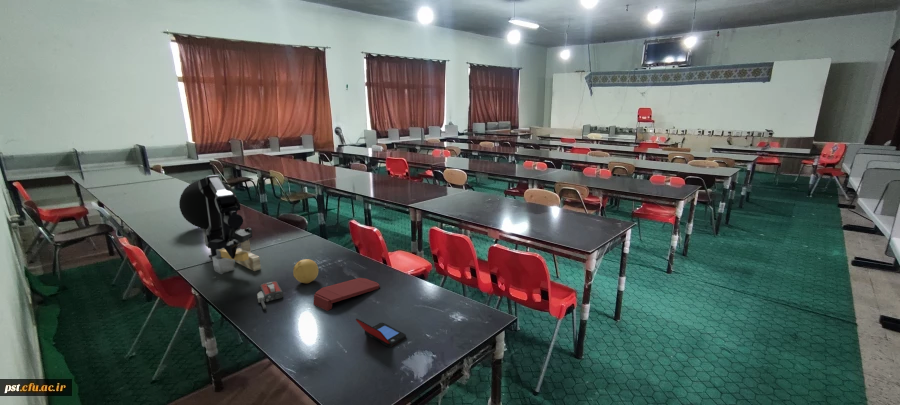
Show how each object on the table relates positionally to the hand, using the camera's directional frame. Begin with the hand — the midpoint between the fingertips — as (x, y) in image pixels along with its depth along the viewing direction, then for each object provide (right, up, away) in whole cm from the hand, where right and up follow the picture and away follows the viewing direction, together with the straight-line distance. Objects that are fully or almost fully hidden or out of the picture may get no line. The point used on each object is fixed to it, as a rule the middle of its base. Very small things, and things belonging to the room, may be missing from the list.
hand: (233, 258), depth 169 cm
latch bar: (-3, 0, +4) cm, 5 cm away
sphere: (-50, +8, +69) cm, 86 cm away
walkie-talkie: (+24, -13, -17) cm, 32 cm away
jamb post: (-8, -6, +8) cm, 13 cm away
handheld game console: (+72, -20, -44) cm, 86 cm away
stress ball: (+33, -10, -4) cm, 35 cm away
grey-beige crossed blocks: (0, -5, +14) cm, 15 cm away
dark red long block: (+53, -13, -15) cm, 57 cm away
